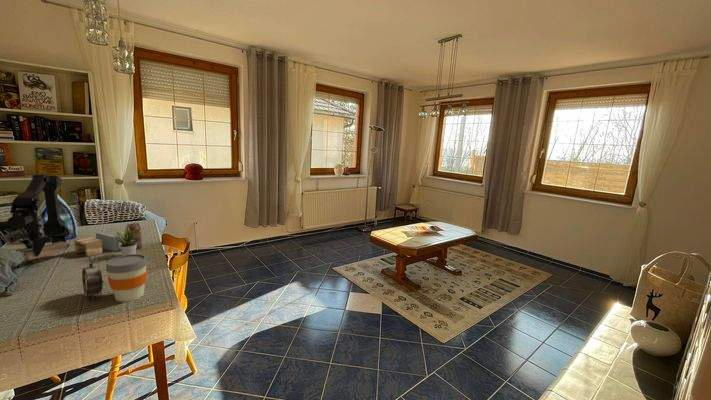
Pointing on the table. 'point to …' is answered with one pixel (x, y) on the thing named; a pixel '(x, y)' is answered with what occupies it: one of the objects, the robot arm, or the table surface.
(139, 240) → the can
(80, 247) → the block
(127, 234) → the house plant
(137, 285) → the reusable coffee cup
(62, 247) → the peg
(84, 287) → the alarm clock
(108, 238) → the backstop
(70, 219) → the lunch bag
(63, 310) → the table surface
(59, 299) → the table surface
